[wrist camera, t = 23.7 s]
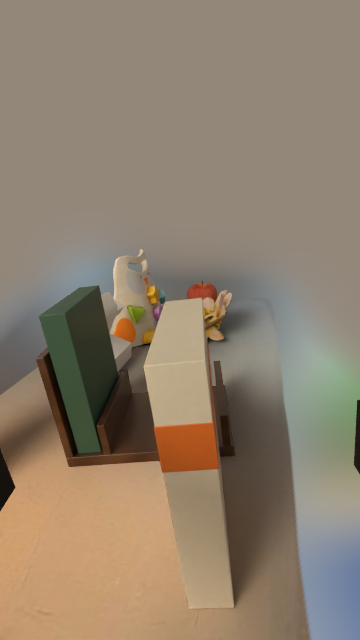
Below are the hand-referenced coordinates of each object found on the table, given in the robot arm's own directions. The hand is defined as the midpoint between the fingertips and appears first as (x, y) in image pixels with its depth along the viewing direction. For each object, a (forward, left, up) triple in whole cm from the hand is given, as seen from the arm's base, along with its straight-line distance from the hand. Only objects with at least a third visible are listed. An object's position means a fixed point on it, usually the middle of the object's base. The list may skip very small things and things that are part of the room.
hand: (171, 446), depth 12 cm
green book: (+23, -14, -16) cm, 31 cm away
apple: (+33, -59, -17) cm, 69 cm away
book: (+5, -8, -17) cm, 19 cm away
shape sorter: (+39, -43, -17) cm, 60 cm away
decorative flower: (+26, -46, -17) cm, 55 cm away
